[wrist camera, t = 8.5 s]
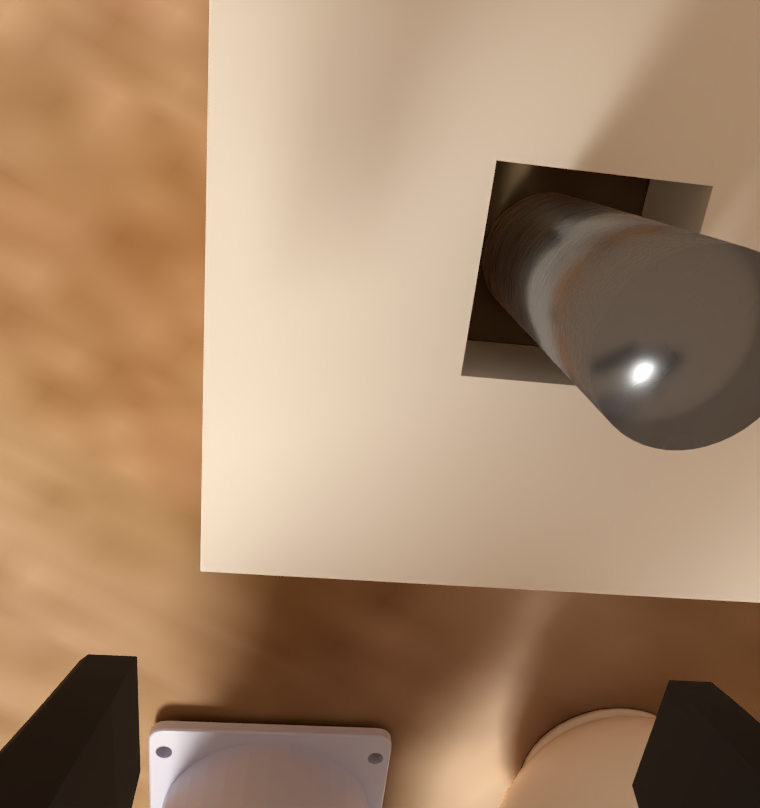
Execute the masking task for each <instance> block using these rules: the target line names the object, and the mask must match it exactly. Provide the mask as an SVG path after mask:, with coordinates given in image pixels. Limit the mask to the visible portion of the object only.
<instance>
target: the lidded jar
mask: <svg viewBox="0 0 760 808" xmlns="http://www.w3.org/2000/svg"><path fill="white" fill-rule="evenodd" d="M655 719H656V715H654V714H652V713H649V712H645V711H642V710H636V709H629V708H610V709H601V710H596V711H592V712H587V713H584V714H581V715H579V716H576V717H573V718H571V719H569V720H567V721H565V722H563V723H561V724H559V725H558V726H556V727H555V728H553V729H552V730H550V731H549V732H548V733H547V734H545V735H544V736H543V737H542V738H541V739H540V740H539V741H538V742H537V743H536V744H535V745H534V746H533V748H532V749H531V751H530V752H529V754H528V755H527V757H526V759H525V762H524V764H523V766H522V769H521V770H520V772H519V773H518V775H517V776H516V778H515V779H514V781H513V782H512V784H511V785H510V787H509V789H508V790H507V792H506V794H505V796H504V799H503V801H502V803H501V806H500V808H638V804H637V801H636V797H635V794H634V790H633V787H632V784H633V781H634V778H635V775H636V773H637V770H638V767H639V764H640V761H641V758H642V756H643V753H644V750H645V747H646V744H647V742H648V739H649V736H650V733H651V730H652V728H653V725H654V722H655Z"/></svg>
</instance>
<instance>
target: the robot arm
mask: <svg viewBox="0 0 760 808" xmlns="http://www.w3.org/2000/svg"><path fill="white" fill-rule="evenodd" d="M148 742H149V790H150V808H382V804H383V798H384V792H385V786H386V780H387V773H388V767H389V761H390V755H391V748H392V745H391V735H390V734H389V732H388V731H386V730H384V729H380V728H362V727H333V726H305V725H276V724H248V723H219V722H191V721H160V722H158V723H156V724H154V726H153V727H152V729H151V732H150V735H149V739H148ZM162 746H165V747H169V748H165V747H162ZM372 753H378V754H372ZM139 774H140V744H139V711H138V678H137V657H135V656H112V655H90V654H88V655H87V656H86V657H84V658H83V659H82V660H80V661H79V662H78V663H77V665H76V666H75V667H74V668H73V669H72V670H71V672H70V673H69V674H68V675H67V676H66V677H65V679H64V680H63V681H62V682H61V683H60V684H59V686H58V687H57V688H56V689H55V690H54V691H53V692H52V694H51V695H50V696H49V697H48V698H47V699H46V701H45V702H44V703H43V704H42V705H41V706H40V707H39V708H38V710H37V711H36V712H35V713H34V714H33V715H32V716H31V718H30V719H29V720H28V721H27V722H26V723H25V724H24V725H23V726H22V727H21V729H20V730H19V731H18V732H17V733H16V734H15V735H14V736H13V737H12V738H11V740H10V741H9V742H8V743H7V744H6V745H5V746H4V747H3V748H2V749H1V751H0V808H132V804H133V800H134V795H135V791H136V787H137V783H138V779H139ZM632 787H633V790H634V794H635V797H636V801H637V804H638V808H760V723H759V722H758V721H757V720H755V719H754V718H753V717H752V716H751V715H750V714H749V713H747V712H746V711H745V710H744V709H743V708H742V707H740V706H739V705H738V704H737V703H736V702H735V701H733V700H732V699H731V698H730V697H729V696H727V695H726V694H725V693H724V692H723V691H721V690H720V689H719V688H718V687H716V686H715V685H714V684H713V683H711V682H696V681H674V680H669V683H668V685H667V688H666V691H665V694H664V697H663V699H662V702H661V705H660V708H659V711H658V714H657V716H656V719H655V722H654V725H653V728H652V730H651V733H650V736H649V739H648V742H647V744H646V747H645V750H644V753H643V756H642V758H641V761H640V764H639V767H638V770H637V773H636V775H635V778H634V781H633V784H632Z"/></svg>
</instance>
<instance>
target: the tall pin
mask: <svg viewBox="0 0 760 808" xmlns="http://www.w3.org/2000/svg"><path fill="white" fill-rule="evenodd" d="M482 269H483V275H484V278H485V282H486V284H487V286H488V289H489V290H490V292H491V294H492V295H493V297H494V298H495V299H496V300H497V301H498V302H499V303H500V305H501V306H502V307H503V308H504V309H505V310H506V311H507V312H508V313H509V314H510V315H511V316H512V317H513V319H514V320H515V321H516V322H517V323H518V324H519V325H520V326H521V327H522V328H523V329H524V330H525V331H526V333H527V334H528V335H529V336H530V337H531V338H532V339H533V340H534V341H535V342H536V343H537V344H538V345H539V346H540V348H541V349H542V350H543V351H544V352H545V353H546V354H547V355H548V356H549V357H550V358H551V359H552V360H553V362H554V363H555V364H556V365H557V366H558V367H559V368H560V369H561V370H562V371H563V372H564V373H565V374H566V376H567V377H568V378H569V379H570V380H571V381H572V382H573V383H574V384H575V385H576V386H577V387H578V388H579V390H580V391H581V392H582V393H583V394H584V395H585V396H586V397H587V398H588V399H589V400H590V401H591V402H592V404H593V405H594V406H595V407H596V408H597V409H598V410H599V411H600V412H601V413H602V414H603V415H604V416H605V418H606V419H607V420H608V421H609V422H610V423H611V424H612V425H613V426H614V427H615V428H616V429H617V430H619V431H620V432H621V433H622V434H623V435H625V436H627V437H628V438H630V439H631V440H633V441H636V442H638V443H640V444H642V445H645V446H649V447H652V448H656V449H663V450H690V449H697V448H701V447H706V446H709V445H712V444H715V443H718V442H721V441H723V440H725V439H727V438H730V437H732V436H734V435H735V434H737V433H739V432H740V431H742V430H744V429H745V428H747V427H748V426H749V425H751V424H752V423H754V422H755V421H756V420H757V419H759V418H760V252H758V251H755V250H753V249H750V248H747V247H744V246H740V245H737V244H734V243H730V242H727V241H723V240H720V239H716V238H713V237H710V236H706V235H703V234H699V233H696V232H693V231H689V230H686V229H682V228H679V227H675V226H672V225H669V224H665V223H662V222H658V221H655V220H651V219H648V218H645V217H641V216H638V215H634V214H631V213H627V212H624V211H621V210H617V209H614V208H610V207H607V206H603V205H600V204H597V203H593V202H590V201H586V200H583V199H579V198H576V197H573V196H569V195H566V194H561V193H553V192H546V193H538V194H534V195H530V196H528V197H525V198H523V199H521V200H519V201H517V202H515V203H514V204H513V205H511V206H510V207H508V208H507V209H506V210H505V211H504V212H503V213H502V214H501V215H500V216H499V217H498V219H497V220H496V221H495V223H494V224H493V226H492V227H491V229H490V231H489V233H488V235H487V238H486V241H485V244H484V248H483V255H482Z"/></svg>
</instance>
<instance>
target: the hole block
mask: <svg viewBox="0 0 760 808" xmlns="http://www.w3.org/2000/svg"><path fill="white" fill-rule="evenodd" d="M496 161H505V162H513V163H522V164H530V165H538V166H547V167H555V168H564V169H572V170H581V171H589V172H597V173H606V174H614V175H623V176H631V177H639V178H648V179H650V183H649V187H648V191H647V195H646V199H645V203H644V207H643V211H642V215H641V217H645V218H648V219H651V220H655V221H658V222H662V223H665V224H669V225H672V226H675V227H679V228H682V229H686V230H689V231H693V232H696V233H699V234H703V235H706V236H710V237H713V238H716V239H720V240H723V241H727V242H730V243H734V244H737V245H740V246H744V247H747V248H750V249H753V250H755V251H758V252H760V0H209V61H208V124H207V187H206V250H205V312H204V375H203V438H202V500H201V563H200V571H203V572H221V573H239V574H257V575H275V576H292V577H310V578H328V579H346V580H363V581H381V582H399V583H417V584H435V585H452V586H470V587H488V588H506V589H523V590H541V591H559V592H577V593H595V594H612V595H630V596H648V597H666V598H684V599H701V600H719V601H737V602H755V603H760V418H759V419H757V420H756V421H755V422H754V423H752V424H751V425H749V426H748V427H747V428H745V429H744V430H742V431H740V432H739V433H737V434H735V435H734V436H732V437H730V438H727V439H725V440H723V441H721V442H718V443H715V444H712V445H709V446H706V447H701V448H697V449H690V450H663V449H656V448H652V447H649V446H645V445H642V444H640V443H638V442H636V441H633V440H631V439H630V438H628V437H627V436H625V435H623V434H622V433H621V432H620V431H619V430H617V429H616V428H615V427H614V426H613V425H612V424H611V423H610V422H609V421H608V420H607V419H606V418H605V416H604V415H603V414H602V413H601V412H600V411H599V410H598V409H597V408H596V407H595V406H594V405H593V404H592V402H591V401H590V400H589V399H588V398H587V397H586V396H585V395H584V394H583V393H582V392H581V391H580V390H579V388H578V387H577V386H576V385H575V384H574V383H573V382H572V381H571V380H570V379H569V378H568V377H567V376H566V374H565V373H564V372H563V371H562V370H561V369H560V368H559V367H558V366H557V365H556V364H555V363H554V362H553V360H552V359H551V358H550V357H549V356H548V355H547V354H546V353H545V352H544V351H543V350H542V349H541V348H540V347H537V346H526V345H515V344H505V343H494V342H483V341H472V340H467V336H468V330H469V324H470V318H471V312H472V305H473V299H474V293H475V287H476V281H477V275H478V269H479V263H480V257H481V251H482V245H483V239H484V233H485V227H486V221H487V215H488V209H489V203H490V197H491V191H492V185H493V179H494V173H495V167H496Z"/></svg>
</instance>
